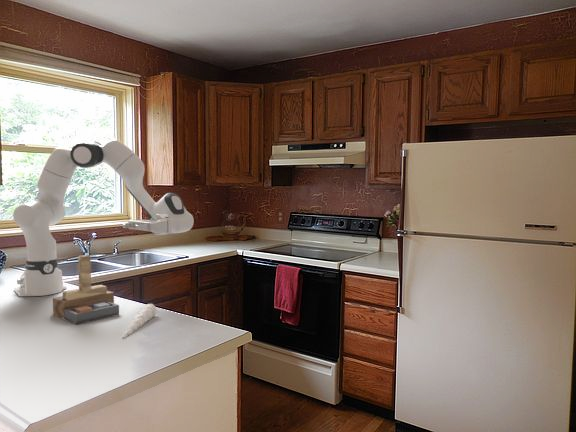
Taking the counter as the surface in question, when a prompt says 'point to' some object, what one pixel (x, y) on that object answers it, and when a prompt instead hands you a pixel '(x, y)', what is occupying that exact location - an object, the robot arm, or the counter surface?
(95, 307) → the pale blue-grey cube
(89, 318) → the bin
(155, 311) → the unicorn horn
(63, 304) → the wide wooden plinth
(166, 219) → the robot arm
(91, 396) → the counter surface
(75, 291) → the wooden inverted t block
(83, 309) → the salmon orange block
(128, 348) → the counter surface
